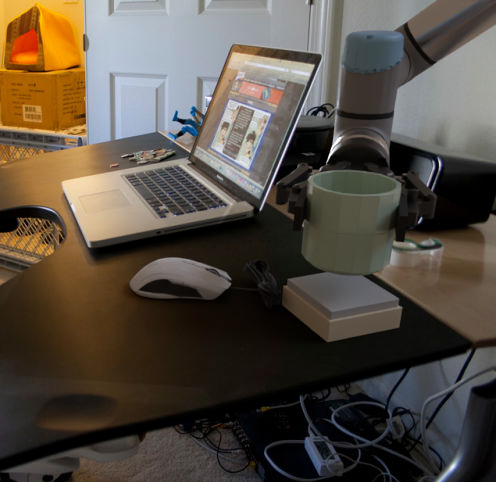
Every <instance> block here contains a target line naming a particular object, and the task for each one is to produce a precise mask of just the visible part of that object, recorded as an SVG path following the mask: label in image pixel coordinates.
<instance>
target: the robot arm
mask: <svg viewBox="0 0 496 482" xmlns="http://www.w3.org/2000/svg"><path fill="white" fill-rule="evenodd" d="M494 26H496V0H435V1H433V2H432V3H431V4H429V5H428V6H426V7H425V8H424V9H422V10H421V11H419V12H418V13H417V14H415V15H414V16H412V17H411V18H410V19H408V20H407V21H406V22H404V23H403V24H401V25H400V26H398V27H397V28H396V29H394V30H379V29H378V30H376V29H375V30H360V31H359V30H358V31H352V32H350V33H349V34H347V35H346V37H345V38H344V41H343V42H344V44H343V48H342V55H341V57H340V72H339V82H338V83H339V84H338V91H337V92H338V94H337V103H336V113H335V120H334V129H333V137H332V138H333V139H332V145H331V148H330V151H329V154H328V157H327V160H326V162H325V163H326V164H325V165H323V166H321V167H320V168H319V169H313V166H309V164H308V163H306V162H301V163H297V168H296V169H294V170H293V171H291V172H290V173H289V174H288V175H285V177H283V178H281V179H280V180H279V181H277V182H276V184H275V185H276V186H275V199H274V200H275V201H274V203H275V205H278V206H284V205H287V206H286V212H287V213H288V214H291V215H293V223H292V231H293V232H301V231H302V229H303V226H304V218H305V207H306V196H307V185H308V180H309V177H310V176H312V175H314V174H316V173H319V172H325V171H331V170H356V171H367V172H373V173H378V174H382V175H385V176H388V177H391V178H394V179H395V180H397V181H398V182H400V183H401V195H400V201H399V208H398V214H397V221H396V227H395V234H394V238H395V243H405V239H406V232H407V227H408V226H416V225H417V224H418V219H419V217H420V218H421V219H424V220H433V219H434V216H435V211H436V210H435V209H436V204H437V199H438V195H437V194H436V193H435V192H434V191H432V189H431V188H430V187H429V186H427V184H426V183H425V182H424V181H423V180H421V178H420V177H419V176H420V172H419V171H416V170H409V171H407V173H405V172H404V173H402V174H401V175H395V173H394V171H392V170H391V169H390V145H391V137H392V131H393V126H394V125H393V124H394V118H395V107H396V102H397V101H396V100H397V95H398V89H400V88H401V87H403V86H405V85H406V84H408V83H409V82H411V81H413V79H415V78H416V77H417V76H419V75H421V74H422V73H424V72H425V71H427V70H428V69H430V68H432V67H433V66H434V65H435V64H437V63H438V62H440V61H441V60H443V59H444V58H447V57H448V56H449V55H452V54H453V53H454V52H455V51H457V50H459V49H460V48H462V47H463V46H465V45H467V44H468V43H470V42H471V41H473V40H474V39H476V38H477V37H479V36H481V35H482V34H483V33H485V32H486V31H488V30H490V29H492V28H493V27H494Z"/></svg>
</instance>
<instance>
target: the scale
mask: <svg viewBox="0 0 496 482" xmlns="http://www.w3.org/2000/svg"><path fill="white" fill-rule="evenodd" d="M399 302H400V298H399V297H397V296H395V295H394V294H393V293H391V292H389V291H387V289H385V288H383V287H381V286H379V285H378V284H376V283H375V282H373V281H371V280H370V279H368V278H367V277H365V276H364V275H363V276H346V275H338V274H333V273H329V272H326V271H324V272H320V273H314V274H309V275H302V276H298V277H292V278H288V279H287V284H286V285H283V286H282V299H281V305H282V306H283V307H284V308H285V309H286V310H288V311H289V312H290V313H291V314H292V315H294V317H296V318H298V320H300V322H302V323H303V324H304V325H306V326H307V327H308V328H309V329H310V330H311V331H313V332H314V333H315V334H317V335H318V336H319V337H320V338H321V339H323V340H324V341H325V342H327V343H331V342H336V341H342V340H345V339H350V338H355V337H361V336H366V335H370V334H374V333H380V332H386V331H389V330H395V329H399V328H400V325H401V319H402V312H403V307H402V306H401V305H399V304H400V303H399Z"/></svg>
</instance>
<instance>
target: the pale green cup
mask: <svg viewBox="0 0 496 482" xmlns="http://www.w3.org/2000/svg"><path fill="white" fill-rule="evenodd" d="M400 195H401V183H400V182H398V181H397V180H395V179H394V178H391V177H388V176H385V175H382V174H378V173H373V172H367V171H356V170H331V171H325V172H319V173H316V174H314V175H312V176H310V177H309V180H308V185H307V196H306V207H305V218H304V222H303V227H302V229H303V230H302V240H301V242H302V243H301V250H300V253H301V255H302V257H303V258H304V259H305V260H306V262H308V263H309V264H310V265H311V266H313V267H314V268H316V269H318V270H321V271H322V272H329V273H333V274H338V275H346V276H363V277H364V276H368V275H372V274H373V275H374V274H376V273H378V272H379V271H382V270H384V269H386V268H387V267H388V266H390V264H391V261H392V252H393V246H394V240H395V227H396V221H397V214H398V208H399V201H400Z"/></svg>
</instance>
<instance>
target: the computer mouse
mask: <svg viewBox="0 0 496 482" xmlns="http://www.w3.org/2000/svg"><path fill="white" fill-rule="evenodd" d="M269 271H270V266H269V264H268V263H267V262H266V261H265V260H263V259H259V258H257V259H252V260H251V261H250V262H246V263H245V265H244V267H243V272H244V273H245V274H246V275H247V276H248V277H249V278H250V279H251V280H252V281H253V282H254V283H255V284H256V286H257V288H246V287H236V286H231V285H232V283H231V282H230V281H232V278H231V277H230V275H229V274H228V272H226V271H224V270H221V269H219V268H217V267H214V266H211V265H208V264H206V263H203V262H198V261H195V260H193V259H187V258H182V257H163V258H159V259H156V260H154V261H152V262H150V263H148V264H146V265H145V266H143V267H142V268H141V269H140V270H139V271H138V272H137V273H135V274H134V276H133V277H132V278H131V280H130V281H129V287H130V289H131V290H132V291H133V292H134V293H135V294H136V295H138V296H141V297H145V298H150V299H159V300H161V299H162V300H167V299H168V300H171V299H172V300H174V299H196V300H197V299H198V300H205V301H213V300H215V299H217V298H218V297H220V296H221V295H222V294H223V293H224V292H230V291H231V290H236V291H244V292H258V293H259V294H260V296H261V299H262V301H263V303H264V306H265V307H266V308H267V309H268V310H272V309H273V306H279V305H280V304H281V301H280V297H281V296H280V295H281V294H282V291H281V290H279V289H277V285H278V283H277V281H276V278H275V277H274V275H272V274H271V273H270V272H269Z"/></svg>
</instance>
